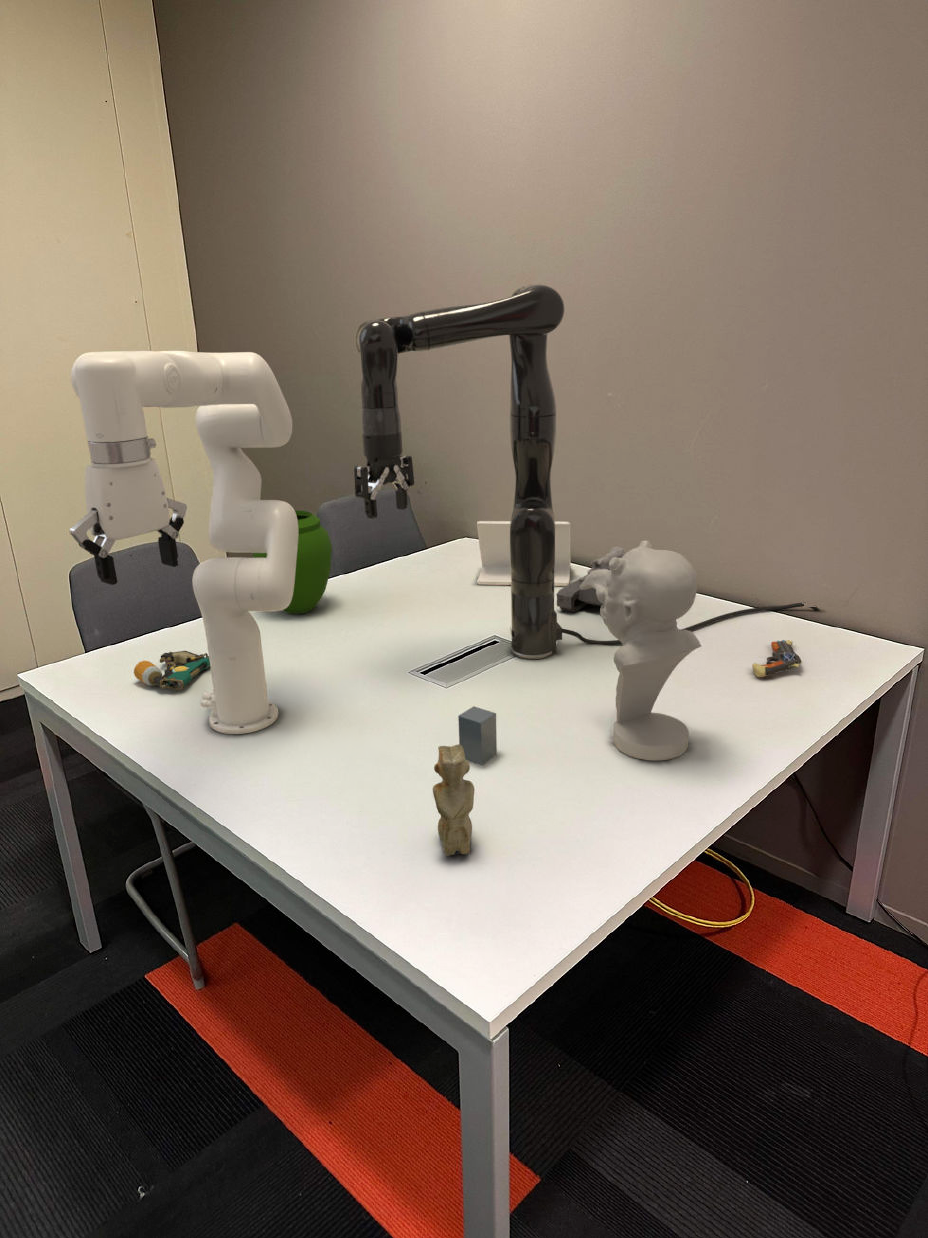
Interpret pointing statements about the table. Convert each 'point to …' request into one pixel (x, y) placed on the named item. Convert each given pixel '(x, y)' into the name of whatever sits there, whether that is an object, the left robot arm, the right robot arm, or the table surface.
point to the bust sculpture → (646, 643)
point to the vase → (309, 564)
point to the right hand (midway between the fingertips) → (387, 513)
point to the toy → (576, 598)
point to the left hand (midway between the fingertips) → (140, 573)
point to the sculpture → (454, 800)
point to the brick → (478, 735)
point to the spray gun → (172, 669)
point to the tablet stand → (498, 553)
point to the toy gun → (778, 659)
